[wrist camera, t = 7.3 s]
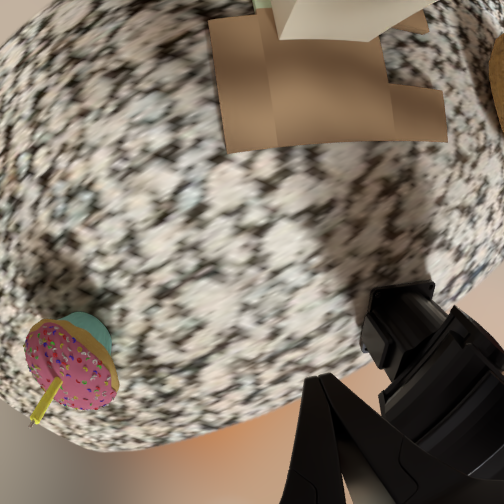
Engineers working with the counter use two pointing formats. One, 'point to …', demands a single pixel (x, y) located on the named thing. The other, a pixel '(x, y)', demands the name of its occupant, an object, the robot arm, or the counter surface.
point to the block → (341, 18)
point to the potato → (498, 77)
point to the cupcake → (71, 363)
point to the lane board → (314, 88)
